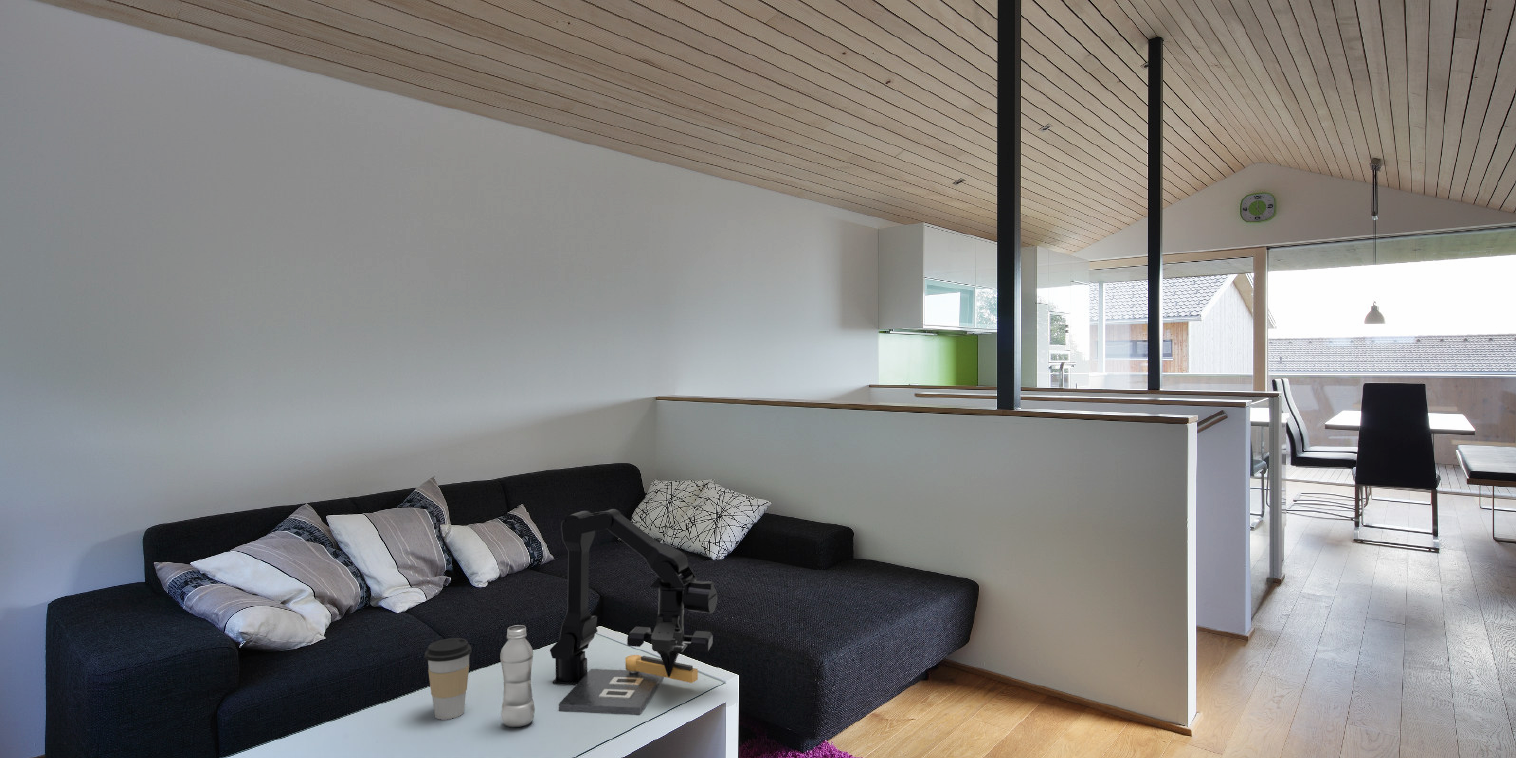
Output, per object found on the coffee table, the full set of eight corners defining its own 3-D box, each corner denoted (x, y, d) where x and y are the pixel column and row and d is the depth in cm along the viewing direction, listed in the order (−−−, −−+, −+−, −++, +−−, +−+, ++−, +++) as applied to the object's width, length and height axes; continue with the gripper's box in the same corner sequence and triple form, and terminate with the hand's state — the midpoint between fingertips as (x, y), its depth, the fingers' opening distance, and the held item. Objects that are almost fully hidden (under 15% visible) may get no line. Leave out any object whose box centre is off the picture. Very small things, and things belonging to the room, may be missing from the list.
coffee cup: (481, 707, 167) (481, 639, 167) (451, 726, 158) (450, 654, 158) (446, 702, 170) (445, 634, 170) (414, 720, 161) (414, 649, 161)
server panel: (558, 710, 165) (558, 700, 165) (591, 674, 185) (591, 665, 185) (639, 714, 163) (639, 704, 163) (664, 677, 183) (663, 668, 183)
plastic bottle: (529, 731, 156) (528, 632, 156) (496, 731, 156) (495, 633, 156) (539, 717, 162) (537, 622, 162) (507, 717, 162) (506, 622, 162)
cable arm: (689, 684, 172) (689, 670, 172) (622, 669, 182) (621, 655, 182) (699, 678, 176) (699, 664, 176) (632, 663, 185) (632, 650, 185)
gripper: (620, 616, 168) (618, 687, 168) (703, 621, 165) (702, 694, 165) (635, 601, 179) (633, 668, 179) (713, 606, 176) (712, 674, 176)
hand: (669, 676), depth 175 cm, fingers closed
